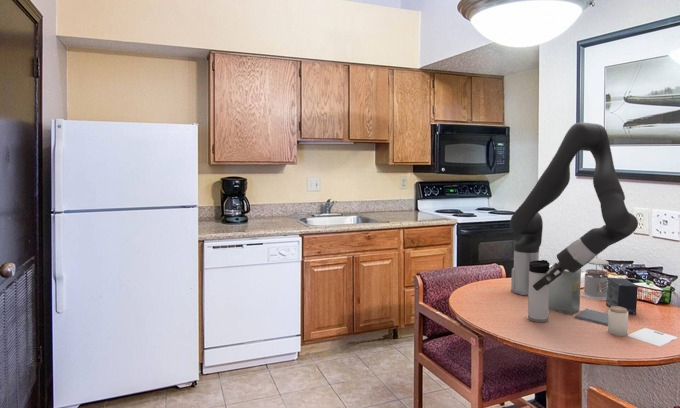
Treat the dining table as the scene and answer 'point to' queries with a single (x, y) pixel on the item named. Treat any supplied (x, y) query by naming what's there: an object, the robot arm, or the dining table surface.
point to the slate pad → (593, 316)
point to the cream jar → (618, 321)
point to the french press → (596, 281)
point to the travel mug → (538, 292)
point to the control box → (565, 293)
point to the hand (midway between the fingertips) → (537, 285)
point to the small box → (622, 294)
